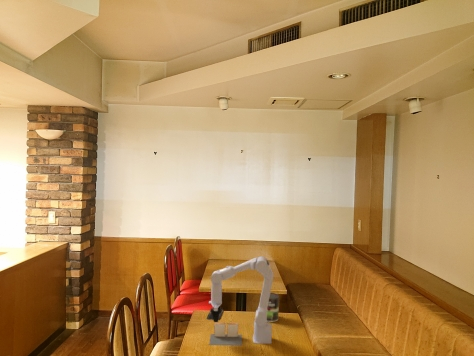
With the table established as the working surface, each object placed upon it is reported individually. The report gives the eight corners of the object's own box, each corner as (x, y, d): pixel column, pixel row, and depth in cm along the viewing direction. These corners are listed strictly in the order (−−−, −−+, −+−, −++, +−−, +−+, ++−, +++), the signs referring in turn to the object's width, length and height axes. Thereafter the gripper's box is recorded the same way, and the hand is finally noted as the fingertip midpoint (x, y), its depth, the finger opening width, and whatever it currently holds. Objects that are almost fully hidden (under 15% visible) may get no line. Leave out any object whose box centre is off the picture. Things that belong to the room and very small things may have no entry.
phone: (206, 318, 200) (211, 308, 215) (206, 320, 200) (211, 309, 215) (219, 319, 199) (223, 309, 214) (219, 321, 199) (223, 310, 214)
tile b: (225, 335, 181) (225, 323, 181) (225, 336, 180) (225, 324, 179) (214, 335, 181) (214, 322, 181) (214, 336, 179) (214, 324, 179)
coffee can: (277, 323, 198) (277, 299, 197) (260, 320, 201) (260, 297, 200) (279, 316, 208) (280, 293, 207) (263, 313, 211) (264, 291, 210)
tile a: (238, 335, 181) (238, 323, 181) (238, 337, 180) (238, 324, 179) (227, 335, 181) (227, 323, 181) (227, 337, 180) (227, 324, 179)
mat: (241, 335, 182) (241, 334, 182) (242, 346, 171) (242, 345, 171) (210, 334, 182) (210, 334, 182) (209, 345, 171) (209, 344, 171)
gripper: (209, 288, 187) (209, 312, 187) (208, 299, 172) (207, 324, 173) (222, 288, 187) (222, 312, 187) (221, 299, 172) (221, 324, 173)
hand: (216, 318), depth 180 cm, fingers open, 7 cm apart
